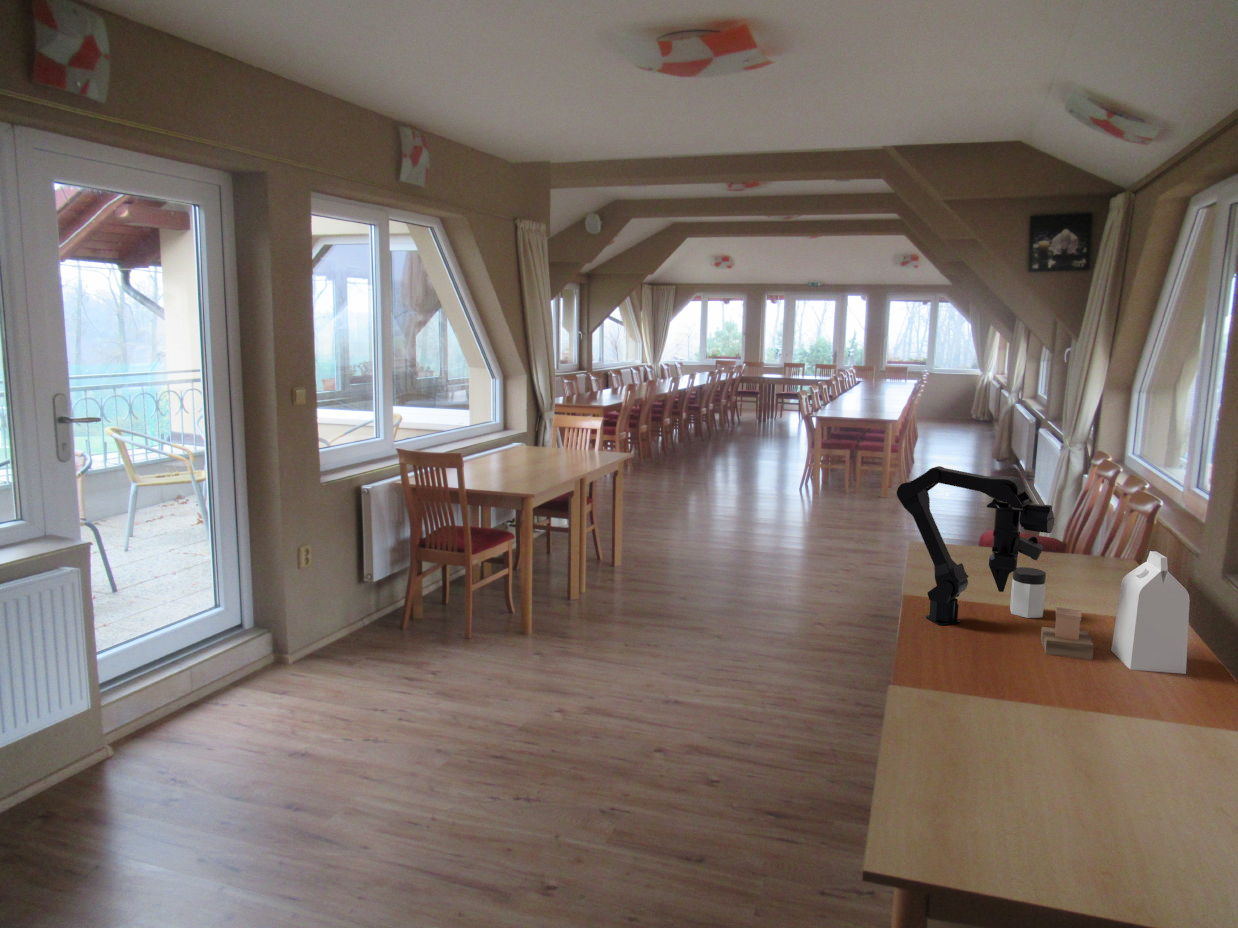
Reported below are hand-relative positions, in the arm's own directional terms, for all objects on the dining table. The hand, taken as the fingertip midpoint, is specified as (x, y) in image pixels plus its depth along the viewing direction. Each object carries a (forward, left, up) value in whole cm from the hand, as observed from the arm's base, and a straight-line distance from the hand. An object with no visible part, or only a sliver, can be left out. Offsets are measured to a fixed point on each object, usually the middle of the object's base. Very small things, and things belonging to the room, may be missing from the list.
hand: (1001, 586), depth 215 cm
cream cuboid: (+9, -13, -9) cm, 18 cm away
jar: (+18, +12, -13) cm, 25 cm away
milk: (+22, -24, -13) cm, 35 cm away
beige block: (+9, -13, -13) cm, 21 cm away
